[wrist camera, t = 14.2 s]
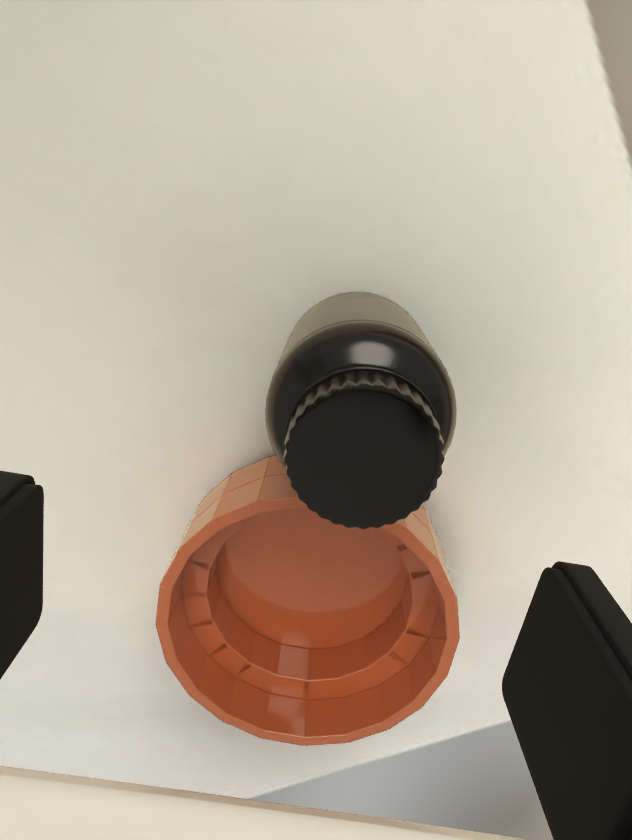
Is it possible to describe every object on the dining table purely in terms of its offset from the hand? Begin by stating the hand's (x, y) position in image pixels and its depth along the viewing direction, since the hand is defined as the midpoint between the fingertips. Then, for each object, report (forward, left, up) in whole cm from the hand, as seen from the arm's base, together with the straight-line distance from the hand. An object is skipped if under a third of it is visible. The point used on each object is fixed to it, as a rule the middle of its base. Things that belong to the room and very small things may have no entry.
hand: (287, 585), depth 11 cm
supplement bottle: (0, +2, -19) cm, 19 cm away
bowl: (+12, +2, -19) cm, 22 cm away
